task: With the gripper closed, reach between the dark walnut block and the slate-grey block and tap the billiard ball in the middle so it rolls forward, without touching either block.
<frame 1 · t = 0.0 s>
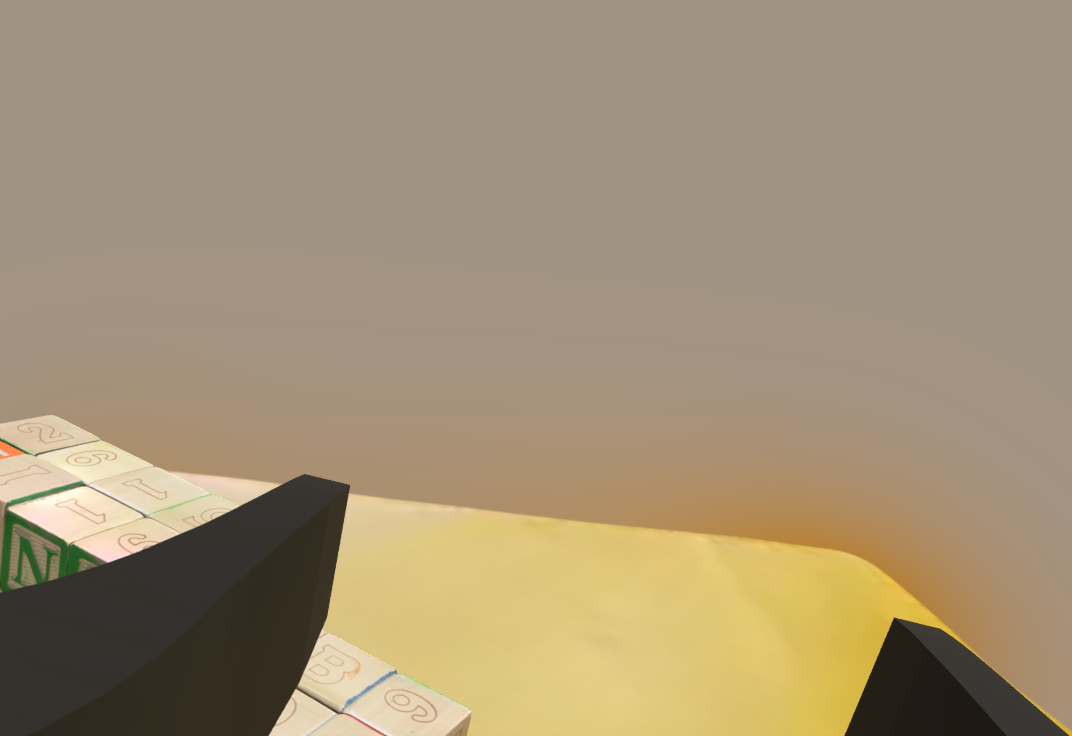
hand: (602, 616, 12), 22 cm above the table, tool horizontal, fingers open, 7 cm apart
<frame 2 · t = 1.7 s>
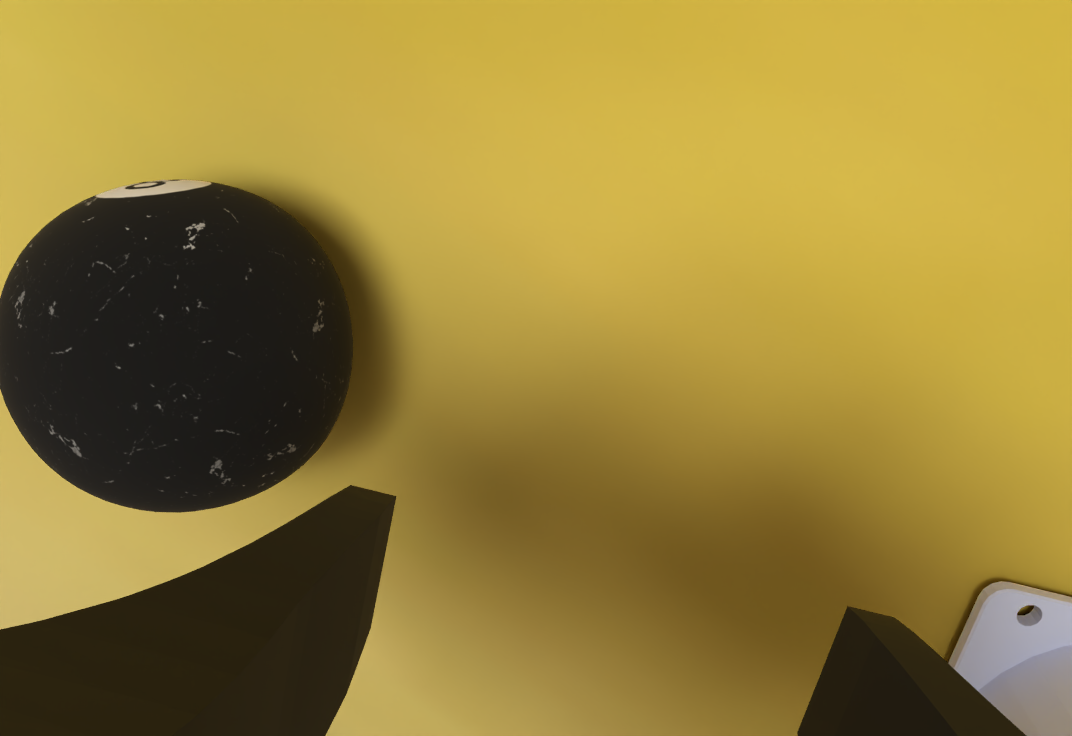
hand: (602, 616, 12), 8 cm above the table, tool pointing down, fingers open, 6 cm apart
billiard ball: (250, 301, 20), on the table
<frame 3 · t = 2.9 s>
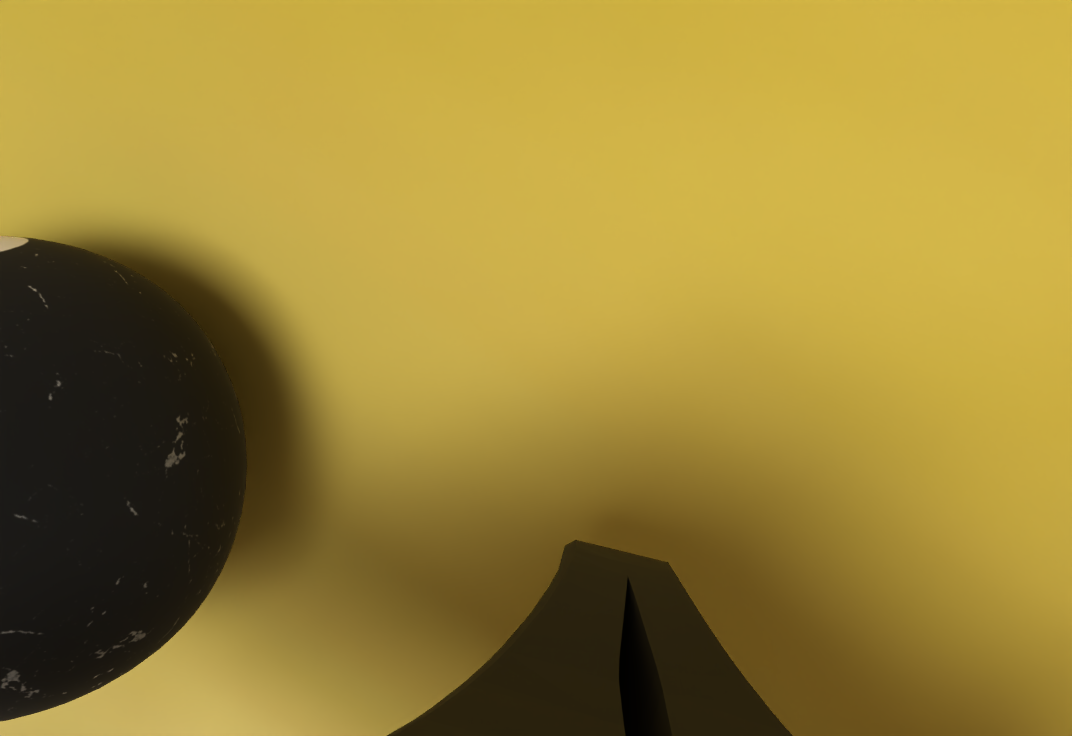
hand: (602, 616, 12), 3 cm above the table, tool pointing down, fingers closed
billiard ball: (123, 387, 15), on the table
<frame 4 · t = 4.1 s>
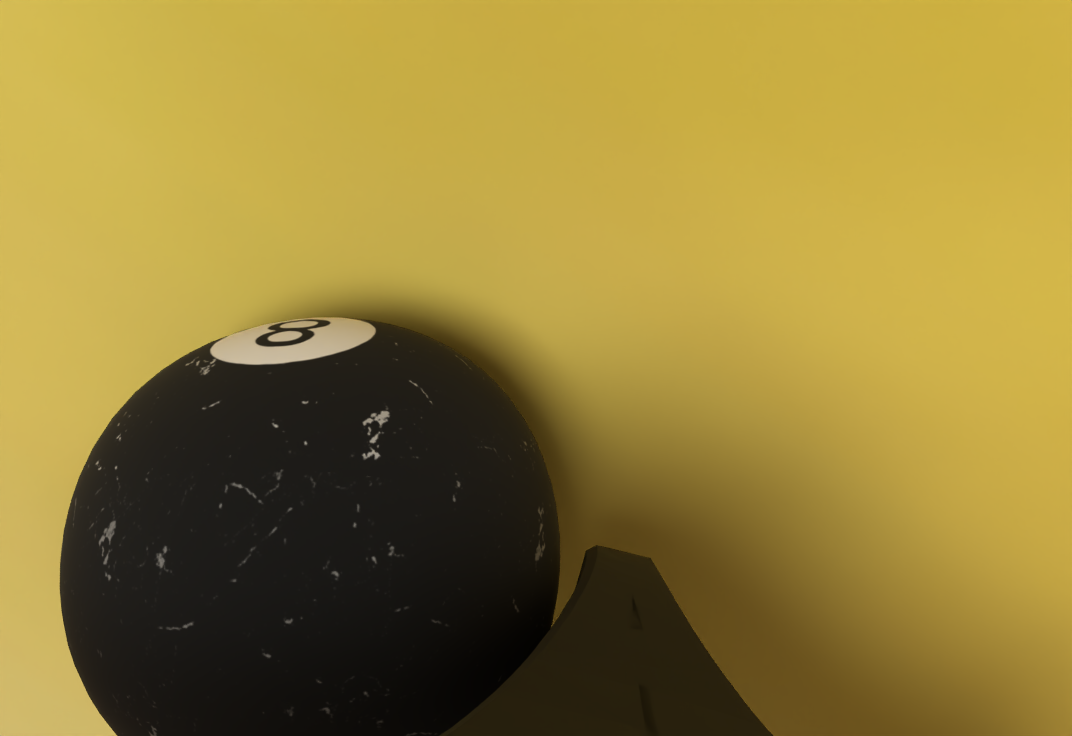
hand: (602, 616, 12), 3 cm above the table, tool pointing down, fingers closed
billiard ball: (385, 451, 15), on the table, touching gripper
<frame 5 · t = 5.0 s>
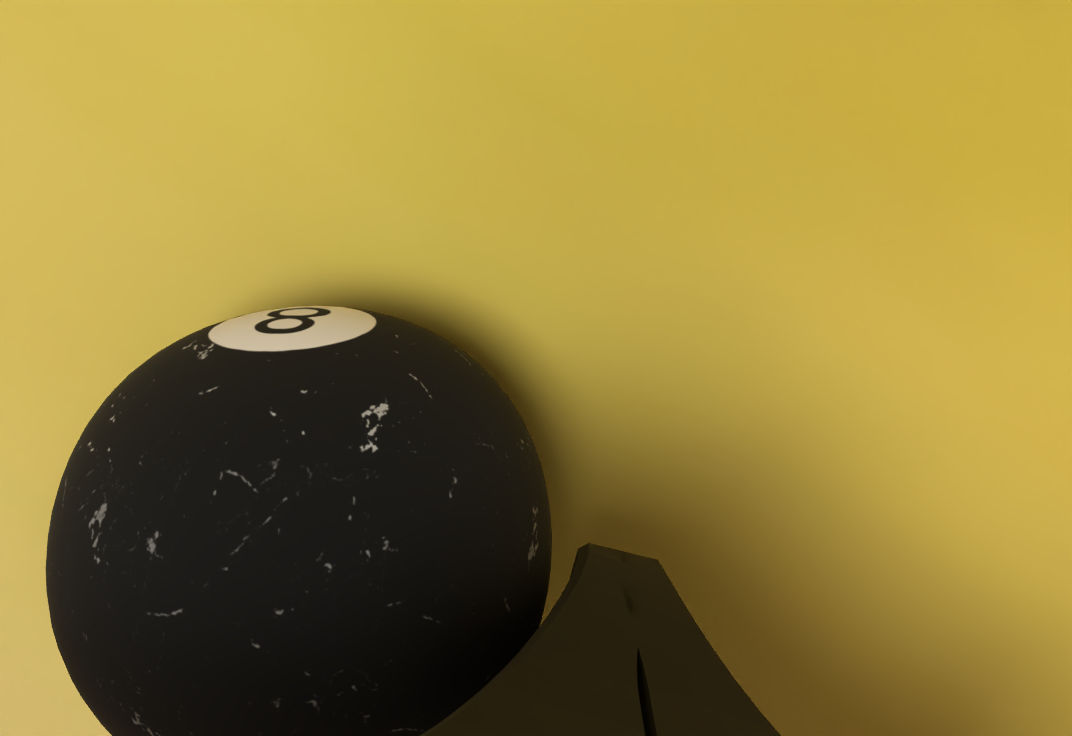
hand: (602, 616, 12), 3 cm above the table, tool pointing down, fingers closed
billiard ball: (378, 443, 15), on the table, touching gripper
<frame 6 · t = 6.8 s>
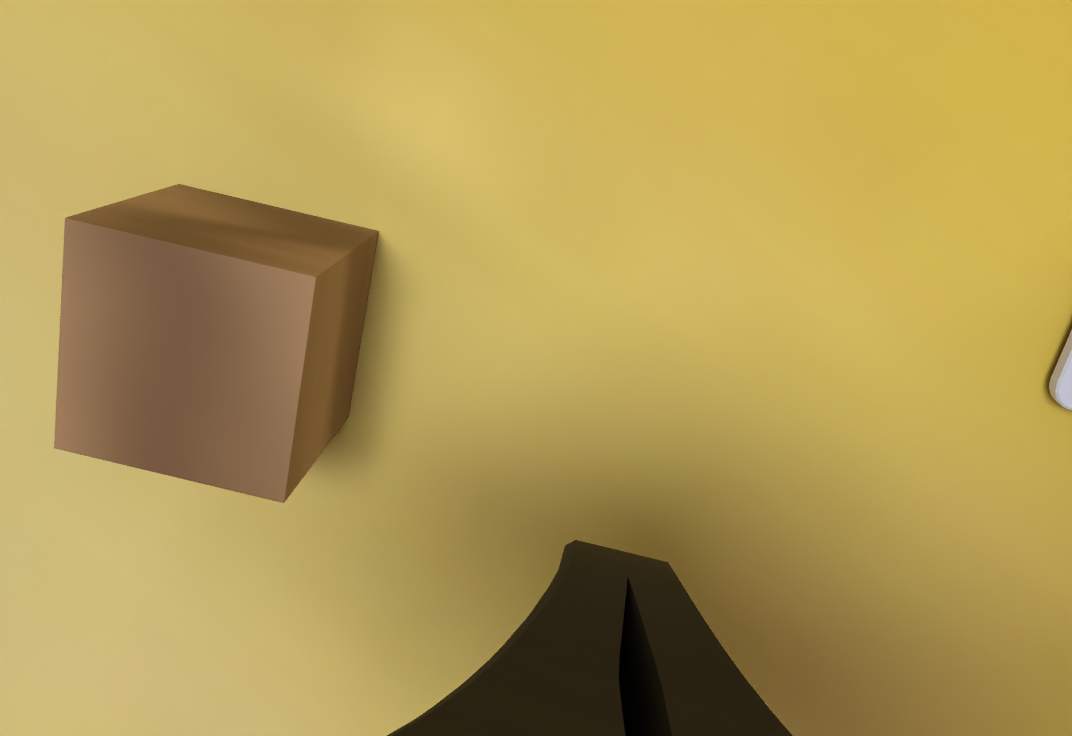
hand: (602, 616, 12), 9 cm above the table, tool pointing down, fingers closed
walnut block: (267, 303, 21), on the table
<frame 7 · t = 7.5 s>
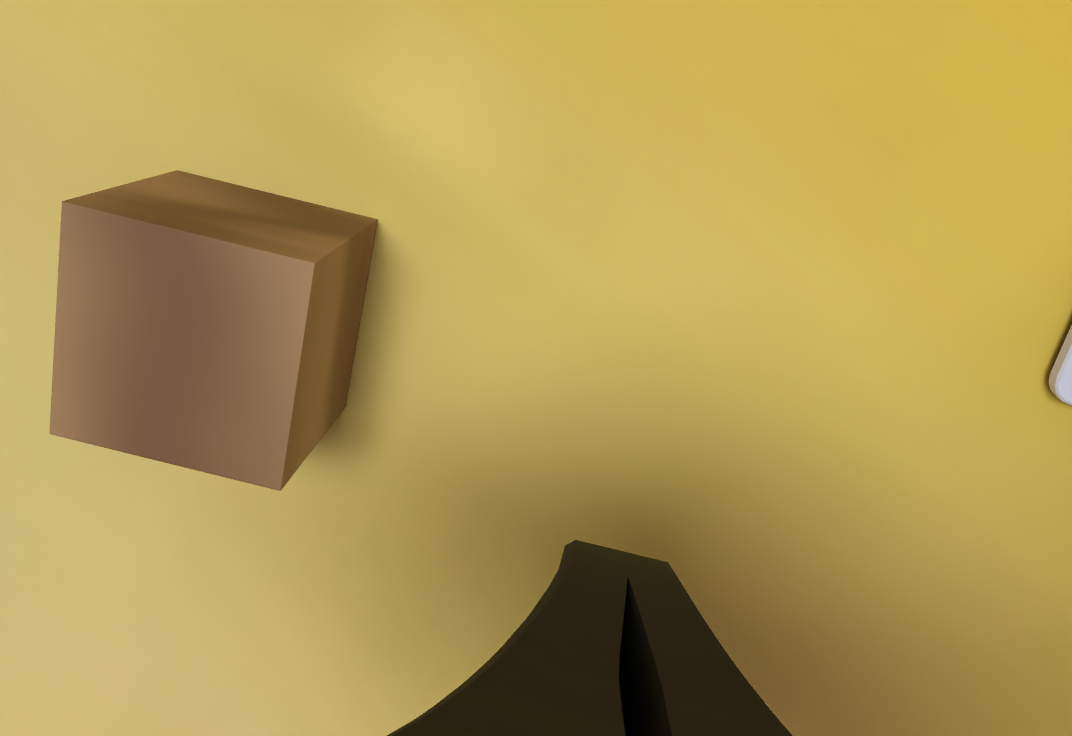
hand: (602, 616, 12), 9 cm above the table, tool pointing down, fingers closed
walnut block: (265, 291, 21), on the table
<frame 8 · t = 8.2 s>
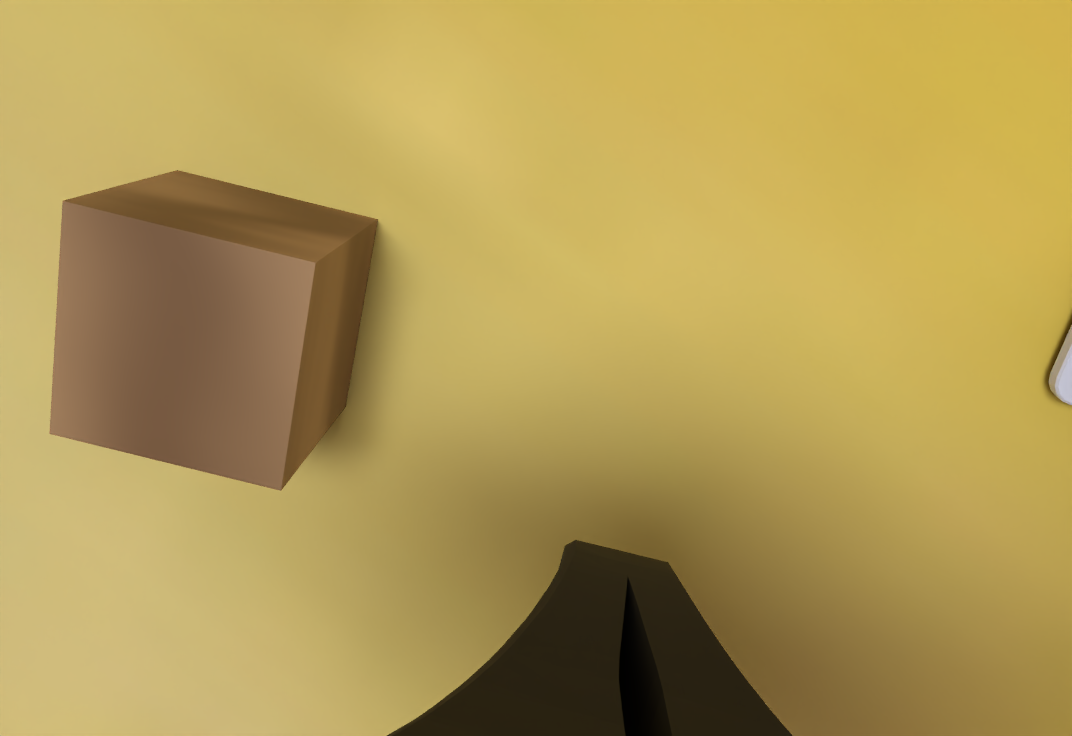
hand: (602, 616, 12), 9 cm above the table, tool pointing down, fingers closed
walnut block: (265, 291, 21), on the table
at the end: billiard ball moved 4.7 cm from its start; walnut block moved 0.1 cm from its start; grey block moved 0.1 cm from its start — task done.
